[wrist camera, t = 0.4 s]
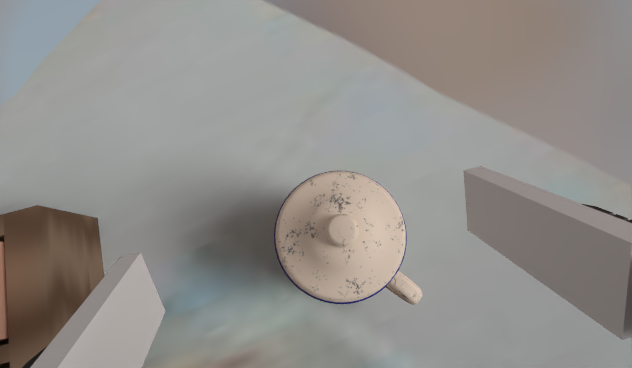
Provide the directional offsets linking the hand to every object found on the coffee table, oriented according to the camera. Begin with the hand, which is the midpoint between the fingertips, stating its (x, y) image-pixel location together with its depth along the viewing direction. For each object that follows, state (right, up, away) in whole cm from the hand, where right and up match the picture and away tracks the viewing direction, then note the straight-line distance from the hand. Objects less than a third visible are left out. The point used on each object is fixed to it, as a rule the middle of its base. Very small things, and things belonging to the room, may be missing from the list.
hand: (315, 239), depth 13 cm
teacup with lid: (+3, -4, +18) cm, 19 cm away
